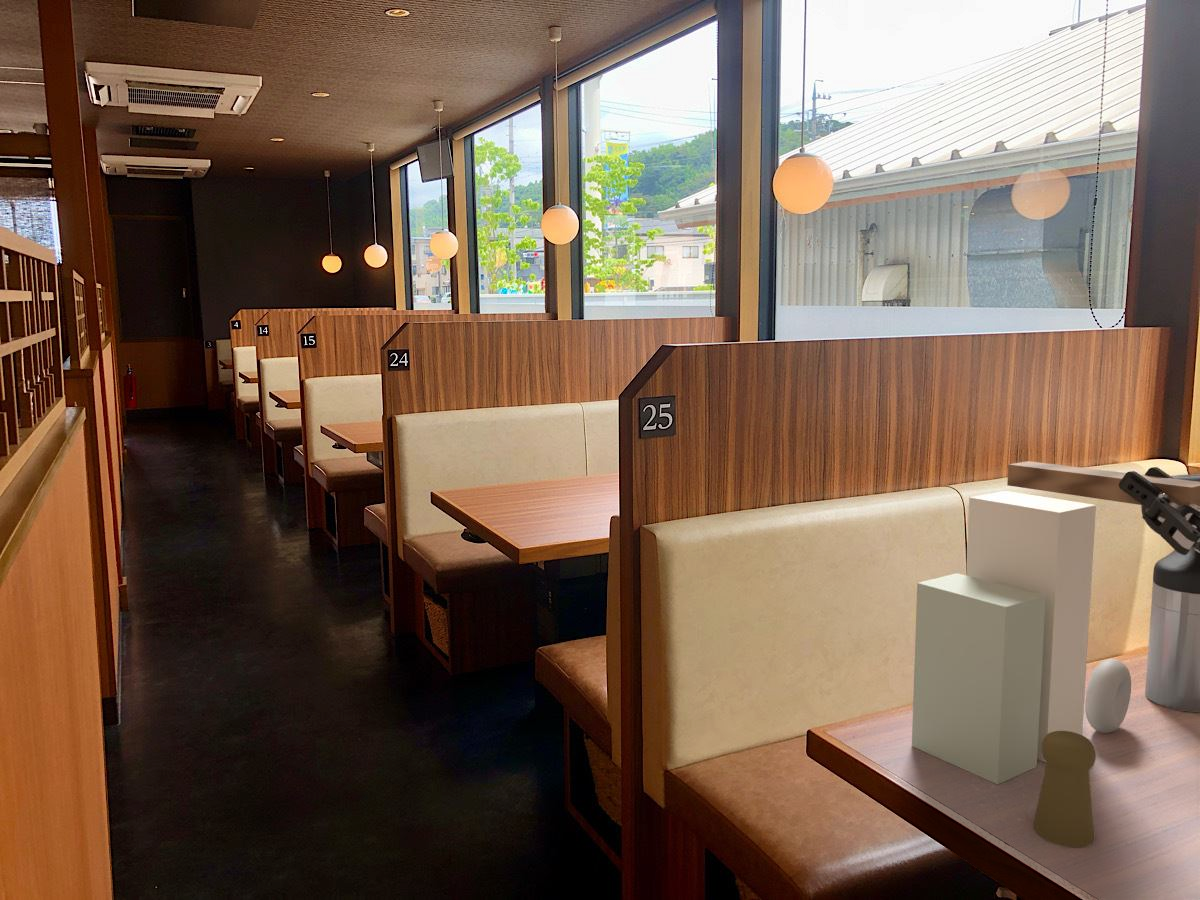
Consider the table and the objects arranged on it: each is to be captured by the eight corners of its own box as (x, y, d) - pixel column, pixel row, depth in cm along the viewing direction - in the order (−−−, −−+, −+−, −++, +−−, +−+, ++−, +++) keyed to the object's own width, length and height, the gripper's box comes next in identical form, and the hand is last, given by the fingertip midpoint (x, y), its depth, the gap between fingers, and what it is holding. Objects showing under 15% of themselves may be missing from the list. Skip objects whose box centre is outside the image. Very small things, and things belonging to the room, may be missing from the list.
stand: (1081, 746, 121) (1096, 505, 117) (997, 784, 111) (1010, 523, 107) (995, 713, 131) (1005, 490, 127) (911, 745, 122) (919, 506, 117)
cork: (1108, 840, 99) (1114, 743, 98) (1064, 852, 97) (1070, 752, 96) (1062, 813, 105) (1068, 720, 103) (1020, 823, 103) (1025, 729, 101)
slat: (1007, 485, 109) (1008, 464, 109) (1027, 481, 111) (1028, 461, 111) (1190, 512, 92) (1191, 487, 92) (1209, 507, 95) (1211, 483, 94)
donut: (1107, 747, 121) (1111, 673, 119) (1079, 738, 123) (1083, 666, 122) (1132, 723, 127) (1137, 653, 126) (1105, 716, 130) (1109, 647, 129)
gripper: (1349, 544, 89) (1189, 441, 100) (1285, 567, 82) (1119, 452, 93) (1298, 601, 93) (1149, 495, 104) (1232, 627, 85) (1079, 510, 97)
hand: (1136, 476), depth 98 cm, fingers closed on slat, 4 cm apart
